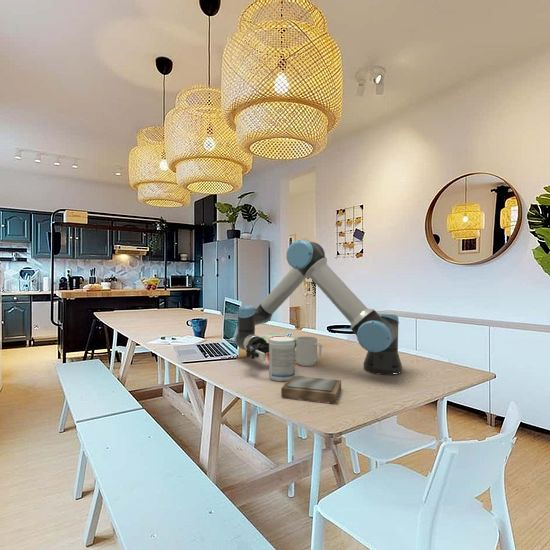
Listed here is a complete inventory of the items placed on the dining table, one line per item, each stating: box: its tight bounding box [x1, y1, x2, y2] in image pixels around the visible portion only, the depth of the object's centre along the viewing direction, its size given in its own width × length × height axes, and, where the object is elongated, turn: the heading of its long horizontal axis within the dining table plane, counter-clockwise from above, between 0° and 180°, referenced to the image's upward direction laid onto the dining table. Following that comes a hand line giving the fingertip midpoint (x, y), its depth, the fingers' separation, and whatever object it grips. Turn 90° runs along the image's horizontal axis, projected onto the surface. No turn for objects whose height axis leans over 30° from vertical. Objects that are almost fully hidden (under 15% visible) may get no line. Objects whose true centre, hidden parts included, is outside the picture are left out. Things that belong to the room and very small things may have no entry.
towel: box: [260, 332, 297, 347], centre depth 198 cm, size 18×21×5 cm
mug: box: [295, 336, 323, 367], centre depth 158 cm, size 12×9×11 cm
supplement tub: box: [268, 336, 296, 382], centre depth 138 cm, size 10×10×15 cm
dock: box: [280, 375, 342, 404], centre depth 121 cm, size 17×15×3 cm
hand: (280, 355), depth 138 cm, fingers open, 13 cm apart
